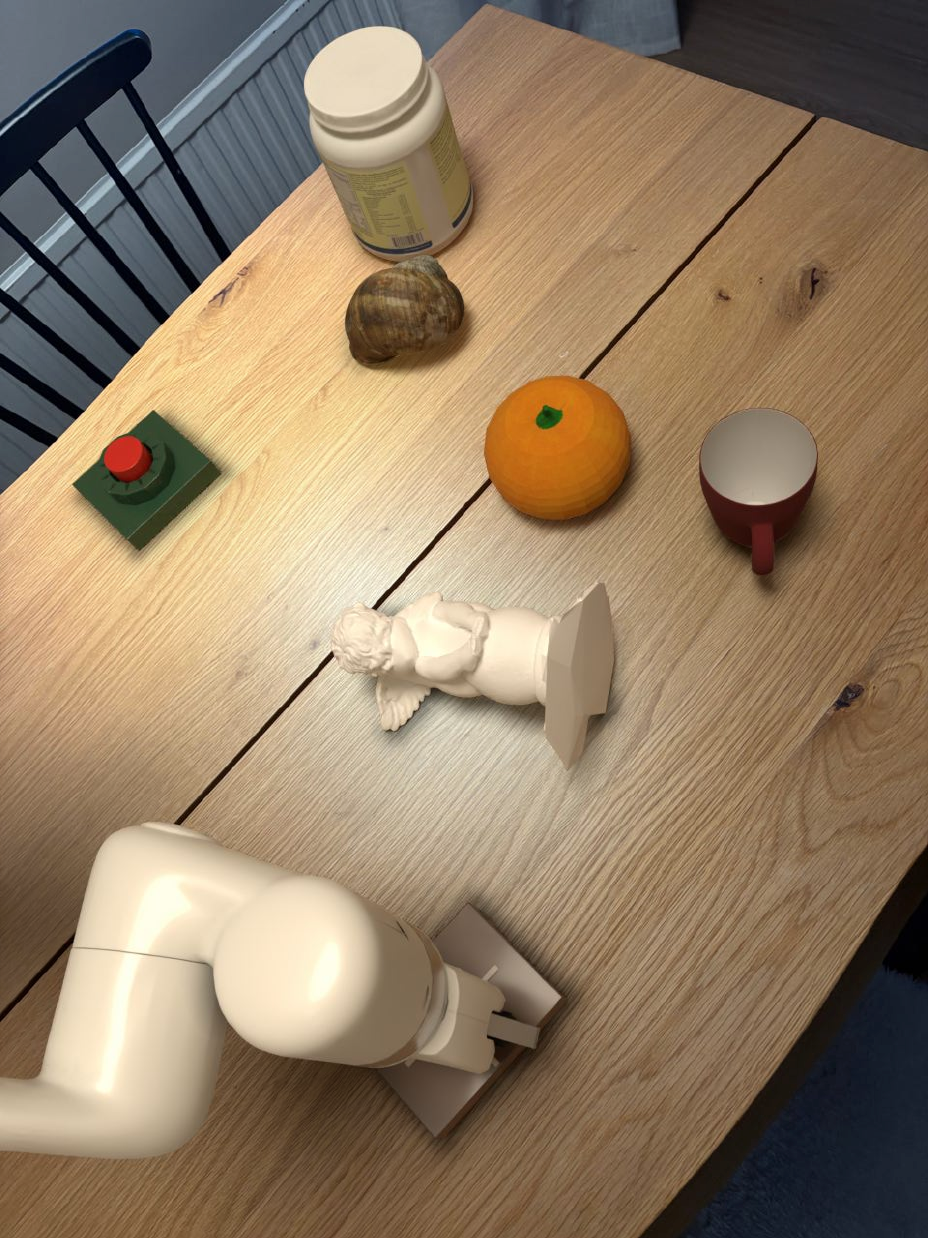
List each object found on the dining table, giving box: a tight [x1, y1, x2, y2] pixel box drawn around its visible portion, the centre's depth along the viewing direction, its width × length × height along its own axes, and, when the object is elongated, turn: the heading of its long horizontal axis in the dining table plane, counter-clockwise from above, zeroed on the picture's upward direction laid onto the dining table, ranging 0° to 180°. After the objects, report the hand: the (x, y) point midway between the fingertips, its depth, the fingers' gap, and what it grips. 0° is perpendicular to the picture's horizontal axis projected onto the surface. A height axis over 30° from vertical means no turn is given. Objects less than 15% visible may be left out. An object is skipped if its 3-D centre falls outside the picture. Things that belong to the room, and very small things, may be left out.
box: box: [72, 409, 222, 551], centre depth 98 cm, size 10×9×4 cm
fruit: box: [483, 375, 632, 520], centre depth 86 cm, size 12×12×10 cm
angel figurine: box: [329, 581, 615, 772], centre depth 80 cm, size 14×20×12 cm
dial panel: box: [374, 901, 568, 1139], centre depth 74 cm, size 12×9×3 cm
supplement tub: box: [303, 25, 474, 263], centre depth 98 cm, size 12×12×17 cm
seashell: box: [344, 255, 465, 366], centre depth 97 cm, size 11×9×8 cm
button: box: [104, 436, 152, 482], centre depth 96 cm, size 4×4×2 cm
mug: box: [698, 407, 819, 577], centre depth 80 cm, size 11×8×10 cm
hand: (450, 1015), depth 73 cm, fingers closed on dial, 4 cm apart
